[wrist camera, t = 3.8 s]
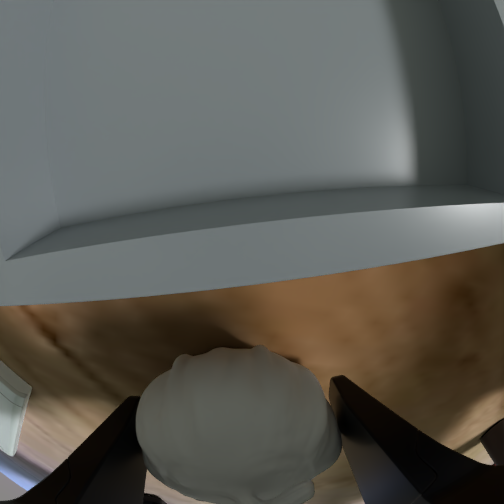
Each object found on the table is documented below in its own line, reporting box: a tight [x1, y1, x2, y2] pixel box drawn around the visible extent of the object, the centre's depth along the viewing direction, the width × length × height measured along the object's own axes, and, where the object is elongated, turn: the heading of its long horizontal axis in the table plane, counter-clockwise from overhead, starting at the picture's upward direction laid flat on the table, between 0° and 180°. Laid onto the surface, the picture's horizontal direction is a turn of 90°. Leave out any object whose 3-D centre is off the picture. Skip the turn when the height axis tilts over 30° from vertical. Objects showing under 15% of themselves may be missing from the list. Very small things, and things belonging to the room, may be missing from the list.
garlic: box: [136, 345, 342, 504], centre depth 7 cm, size 6×5×5 cm
